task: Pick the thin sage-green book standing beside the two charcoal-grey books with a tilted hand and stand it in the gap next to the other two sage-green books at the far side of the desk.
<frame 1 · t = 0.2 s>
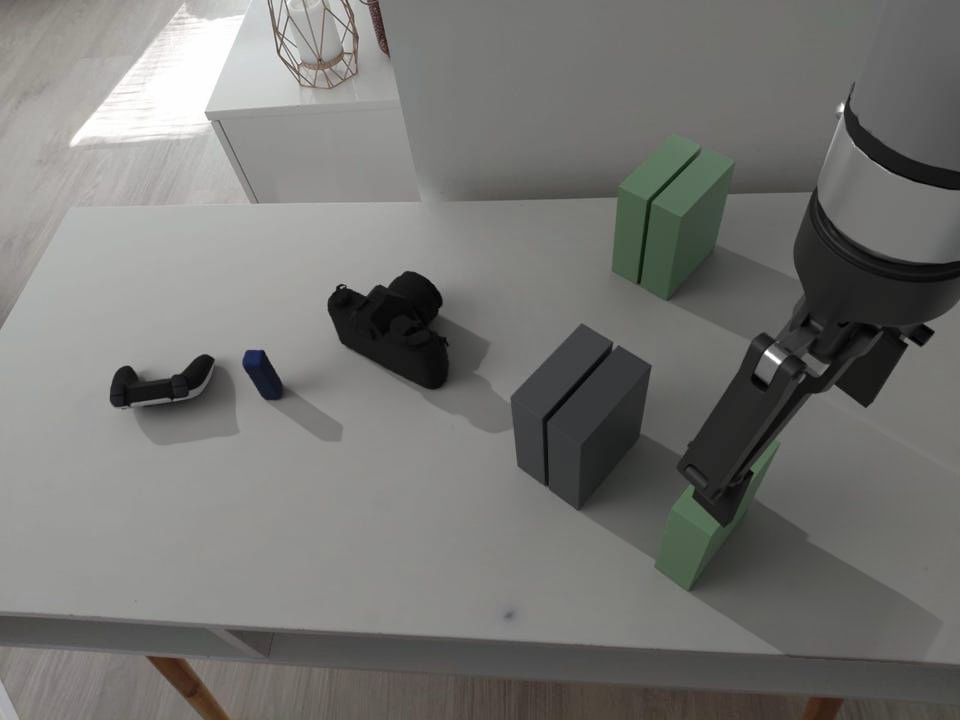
hand: (784, 448, 50), 22 cm above the table, tool pointing down, fingers open, 13 cm apart
green book 1: (648, 251, 89), on the table
blue rectangular bar: (274, 393, 82), on the table
grey book 2: (562, 440, 76), on the table
film camera: (406, 340, 85), on the table
sage book: (701, 537, 69), on the table
grey book 1: (594, 463, 74), on the table
green book 2: (678, 266, 87), on the table
gaming controller: (168, 393, 84), on the table
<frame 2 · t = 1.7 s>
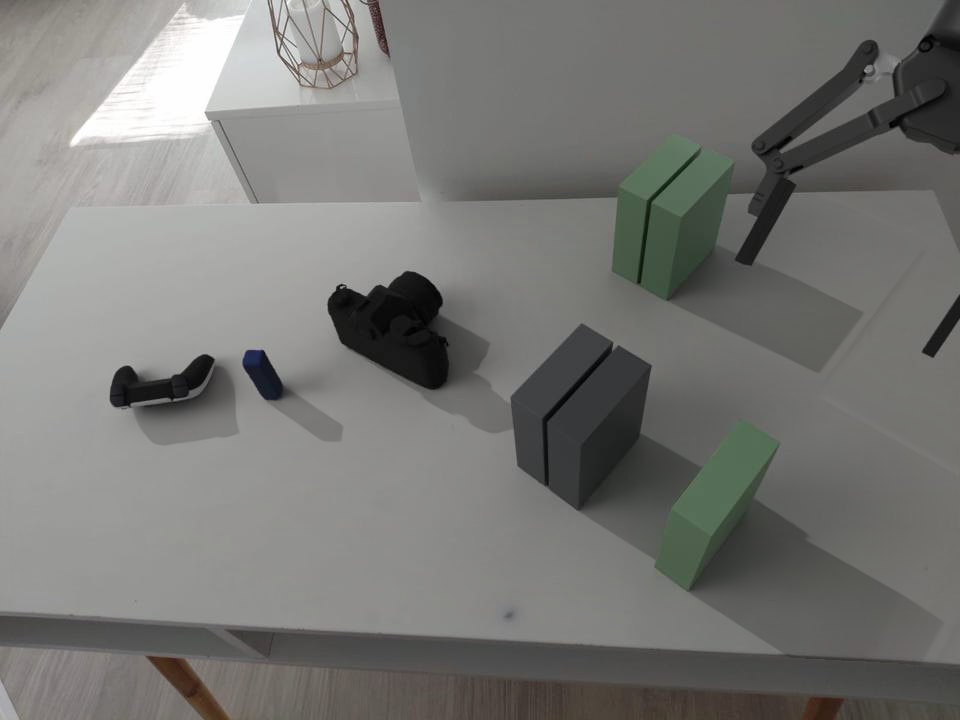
hand: (830, 306, 53), 24 cm above the table, tool tilted 45°, fingers open, 13 cm apart
nothing on the table moved.
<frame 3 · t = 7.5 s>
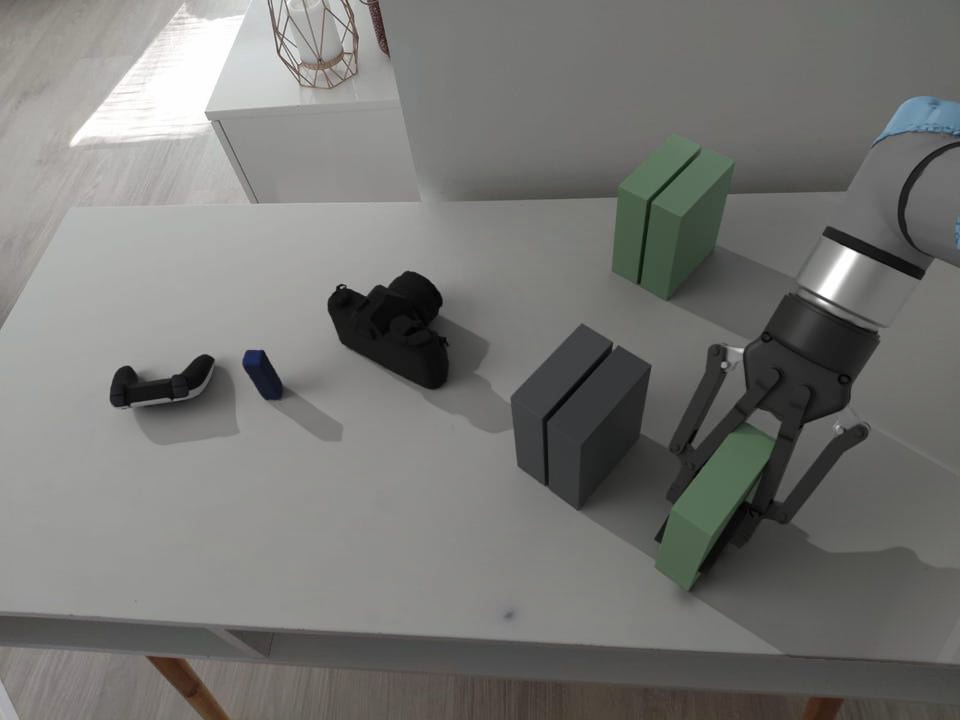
hand: (684, 552, 64), 4 cm above the table, tool tilted 45°, fingers closed on sage book, 3 cm apart
sage book: (701, 537, 69), on the table, touching gripper
everything else where it was.
when the fingers open (4 cm above the table, at t = 17.9 s): sage book stays where it is, on the table.
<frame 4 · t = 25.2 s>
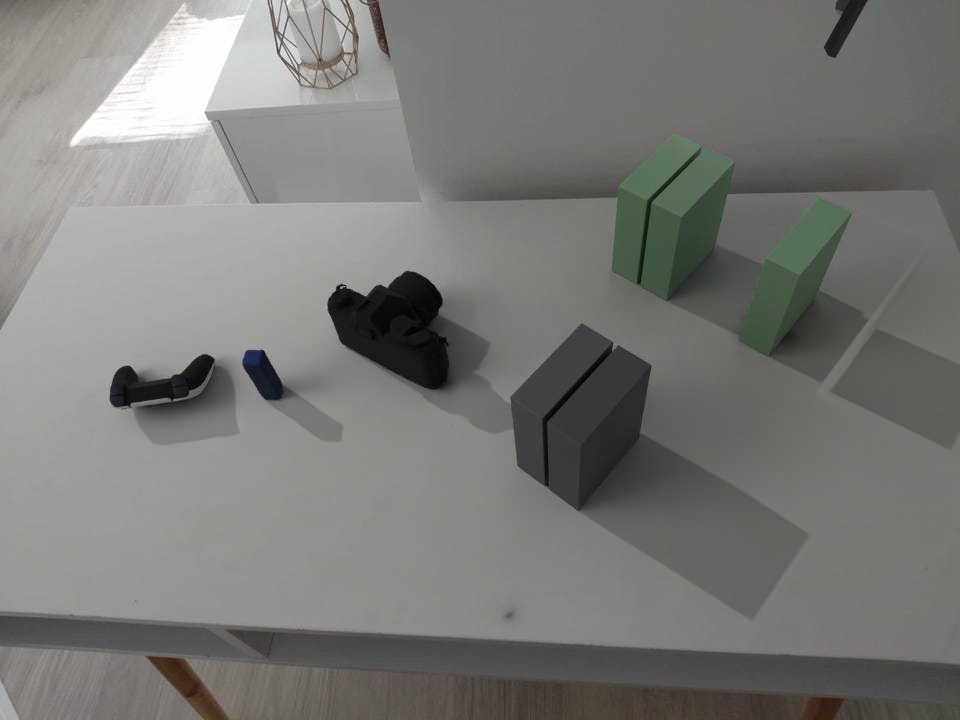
hand: (902, 79, 67), 24 cm above the table, tool tilted 45°, fingers open, 13 cm apart
sage book: (777, 318, 82), on the table
everything else where it was.
at the end: sage book 0.1 cm from the target spot on the table beside the green book 1, on the table; sage book tilted 0°; the gripper is holding nothing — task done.
